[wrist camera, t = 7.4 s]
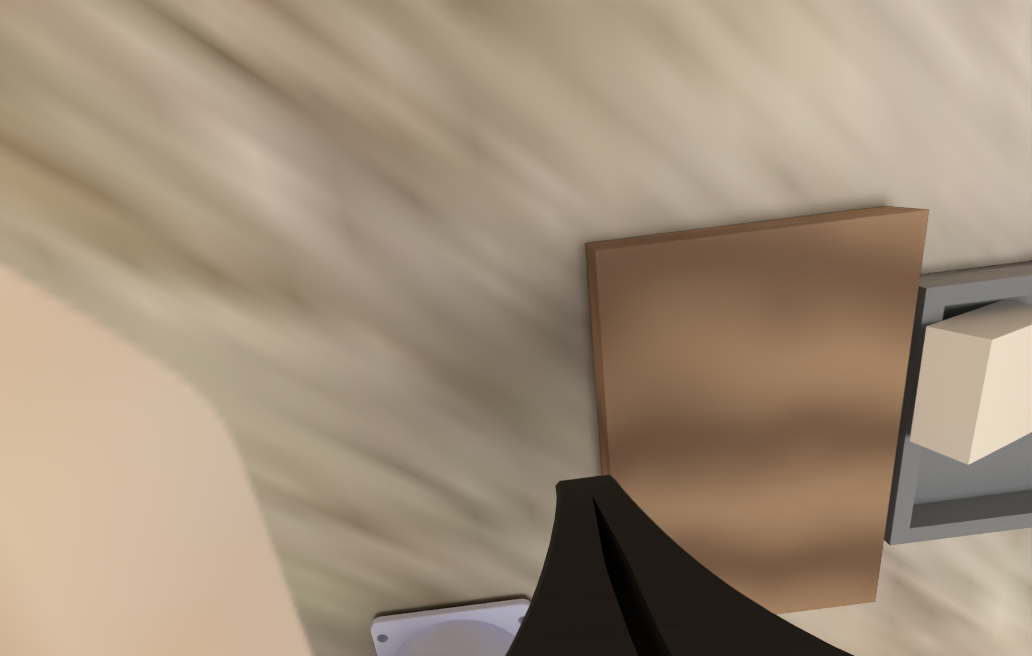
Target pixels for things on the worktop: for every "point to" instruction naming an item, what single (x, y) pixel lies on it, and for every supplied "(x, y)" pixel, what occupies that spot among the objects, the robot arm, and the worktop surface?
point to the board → (761, 392)
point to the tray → (938, 478)
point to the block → (975, 382)
